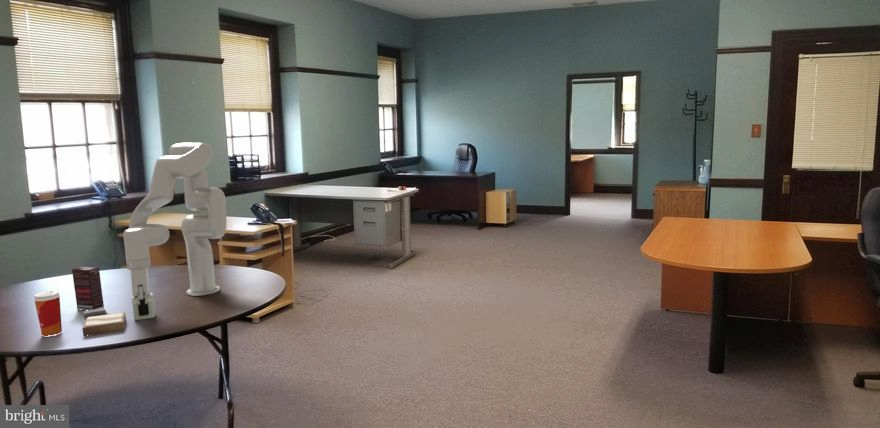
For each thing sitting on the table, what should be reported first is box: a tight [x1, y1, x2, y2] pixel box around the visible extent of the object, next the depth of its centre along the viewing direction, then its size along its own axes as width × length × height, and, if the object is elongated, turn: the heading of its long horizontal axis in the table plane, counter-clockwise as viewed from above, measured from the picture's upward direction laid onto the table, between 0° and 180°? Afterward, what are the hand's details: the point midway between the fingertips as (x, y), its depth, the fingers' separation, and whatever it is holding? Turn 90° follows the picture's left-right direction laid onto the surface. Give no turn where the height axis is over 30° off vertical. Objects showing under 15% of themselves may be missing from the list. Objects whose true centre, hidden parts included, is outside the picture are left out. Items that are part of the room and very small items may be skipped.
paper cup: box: [32, 290, 63, 336], centre depth 209 cm, size 8×8×14 cm
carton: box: [131, 292, 156, 321], centre depth 225 cm, size 5×7×8 cm
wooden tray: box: [81, 311, 127, 337], centre depth 215 cm, size 12×12×3 cm
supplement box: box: [71, 265, 105, 311], centre depth 236 cm, size 9×5×16 cm, turn 71°
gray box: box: [83, 307, 108, 321], centre depth 223 cm, size 4×7×4 cm, turn 123°
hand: (144, 312), depth 226 cm, fingers closed on carton, 4 cm apart
